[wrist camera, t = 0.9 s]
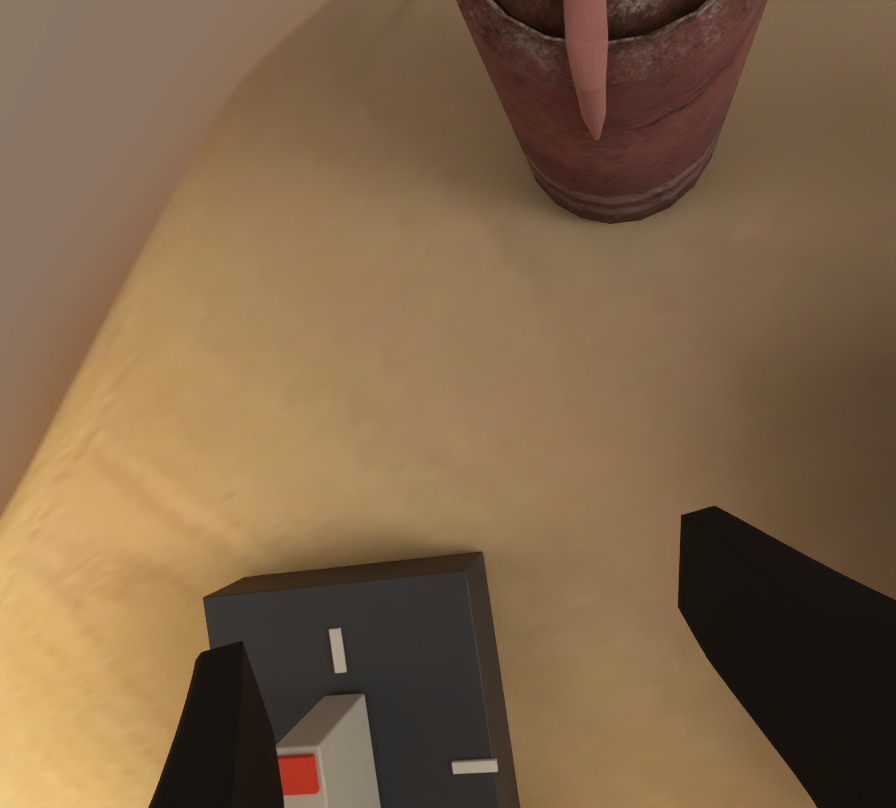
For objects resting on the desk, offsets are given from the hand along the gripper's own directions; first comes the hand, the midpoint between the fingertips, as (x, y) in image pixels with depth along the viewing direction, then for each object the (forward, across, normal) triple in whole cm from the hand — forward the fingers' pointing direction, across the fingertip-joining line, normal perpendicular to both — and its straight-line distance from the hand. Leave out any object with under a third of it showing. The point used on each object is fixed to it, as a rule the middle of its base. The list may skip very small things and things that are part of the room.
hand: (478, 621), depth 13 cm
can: (+16, -10, -3) cm, 19 cm away
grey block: (+8, +3, +13) cm, 16 cm away
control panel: (+11, +2, +15) cm, 18 cm away
